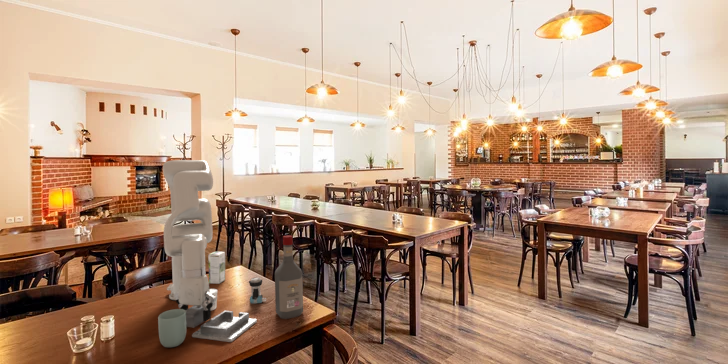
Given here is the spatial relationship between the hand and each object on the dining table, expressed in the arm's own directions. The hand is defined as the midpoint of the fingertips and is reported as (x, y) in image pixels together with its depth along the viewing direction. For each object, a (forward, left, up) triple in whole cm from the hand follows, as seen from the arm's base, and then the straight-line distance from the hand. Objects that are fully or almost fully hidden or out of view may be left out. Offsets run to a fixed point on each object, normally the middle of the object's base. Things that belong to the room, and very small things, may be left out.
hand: (195, 318), depth 127 cm
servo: (0, 0, -2) cm, 2 cm away
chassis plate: (+14, -2, -2) cm, 14 cm away
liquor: (+30, +15, -2) cm, 33 cm away
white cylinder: (-4, +12, -2) cm, 13 cm away
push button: (+12, +22, -2) cm, 25 cm away
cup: (+4, -15, -2) cm, 16 cm away
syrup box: (-22, +41, -2) cm, 47 cm away
